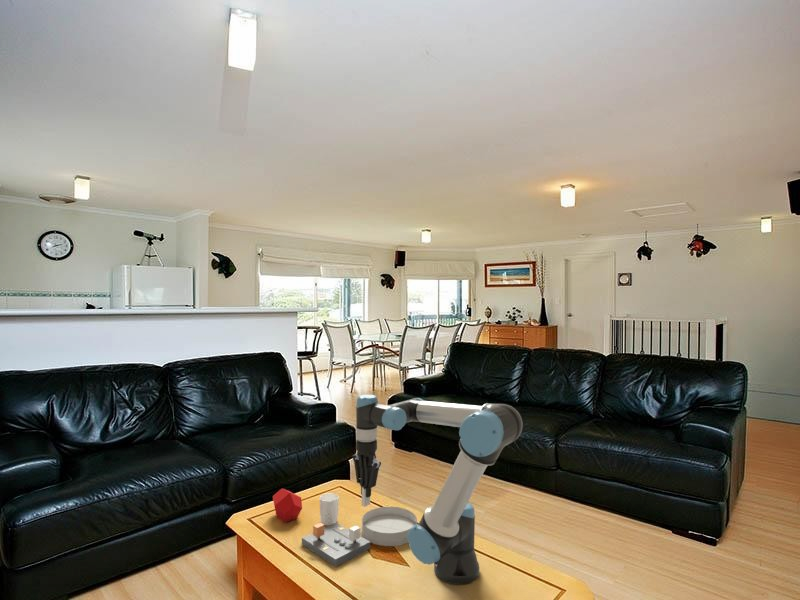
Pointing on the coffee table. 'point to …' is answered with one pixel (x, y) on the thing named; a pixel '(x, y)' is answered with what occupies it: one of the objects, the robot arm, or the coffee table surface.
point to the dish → (388, 525)
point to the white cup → (329, 508)
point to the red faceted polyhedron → (287, 505)
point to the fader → (318, 530)
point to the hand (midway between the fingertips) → (365, 504)
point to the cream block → (354, 533)
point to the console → (335, 544)
